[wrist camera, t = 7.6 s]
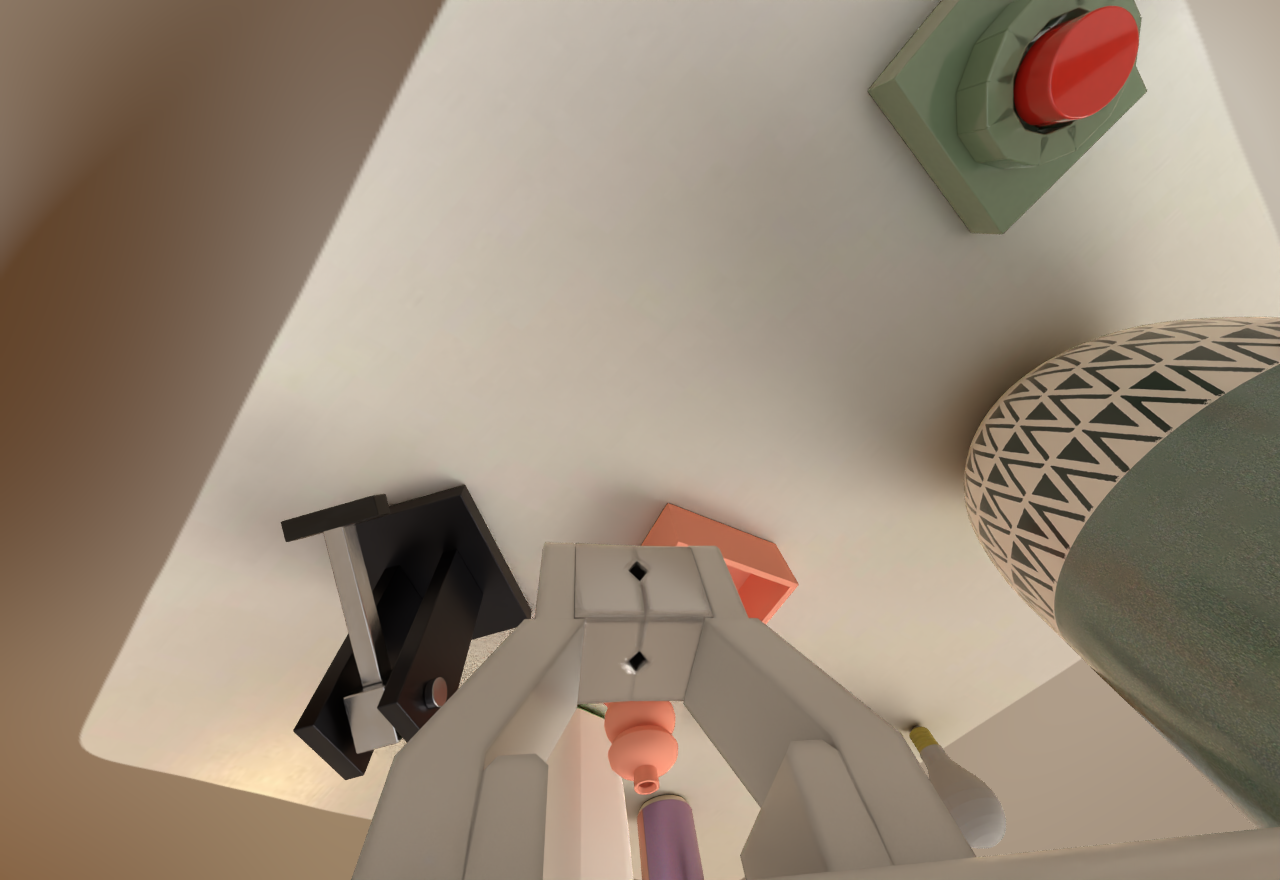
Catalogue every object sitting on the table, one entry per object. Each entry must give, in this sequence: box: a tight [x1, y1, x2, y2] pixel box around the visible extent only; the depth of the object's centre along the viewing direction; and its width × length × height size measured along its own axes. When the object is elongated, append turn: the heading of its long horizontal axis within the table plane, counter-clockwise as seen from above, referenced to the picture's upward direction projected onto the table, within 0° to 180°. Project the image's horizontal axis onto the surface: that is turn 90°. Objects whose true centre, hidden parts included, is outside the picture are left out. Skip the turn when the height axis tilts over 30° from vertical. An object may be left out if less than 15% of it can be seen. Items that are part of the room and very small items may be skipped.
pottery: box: [604, 503, 799, 795], centre depth 32 cm, size 18×10×10 cm, turn 152°
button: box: [1013, 6, 1139, 127], centre depth 19 cm, size 4×4×2 cm
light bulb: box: [909, 727, 1006, 848], centre depth 43 cm, size 6×5×10 cm
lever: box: [281, 494, 403, 754], centre depth 23 cm, size 12×5×2 cm, turn 14°
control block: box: [868, 0, 1147, 234], centre depth 21 cm, size 10×8×4 cm
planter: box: [964, 317, 1280, 829], centre depth 22 cm, size 20×20×21 cm
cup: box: [543, 707, 633, 880], centre depth 35 cm, size 7×7×15 cm
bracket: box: [293, 485, 532, 780], centre depth 27 cm, size 12×9×12 cm
